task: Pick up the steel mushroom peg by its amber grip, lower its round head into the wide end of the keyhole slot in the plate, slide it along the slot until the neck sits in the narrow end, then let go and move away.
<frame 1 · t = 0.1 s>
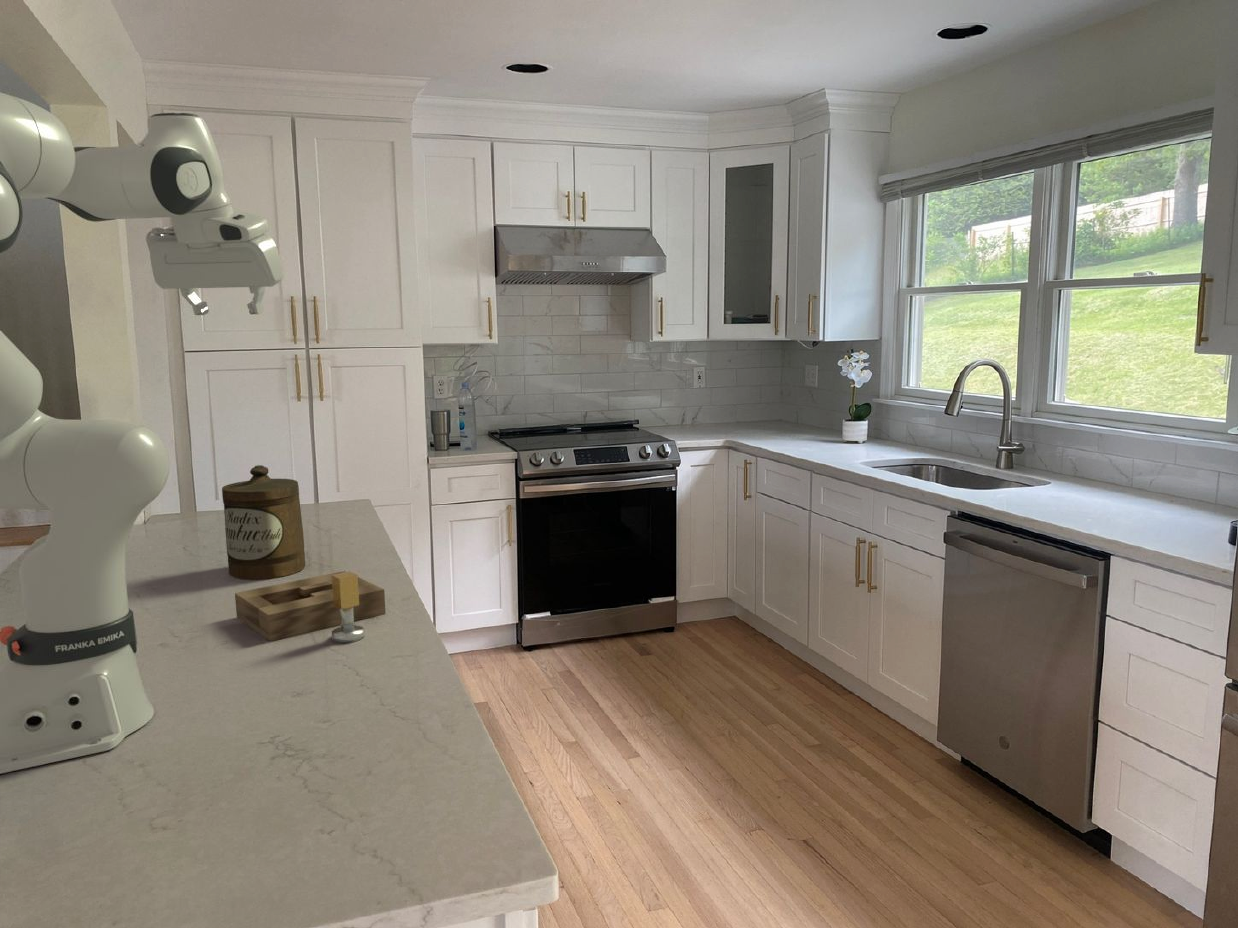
hand: (229, 313, 140), 52 cm above the counter, tool tilted 20°, fingers open, 8 cm apart
keyhole peg: (348, 637, 142), on the counter
wooden container: (267, 571, 183), on the counter
keyhole plate: (311, 615, 154), on the counter
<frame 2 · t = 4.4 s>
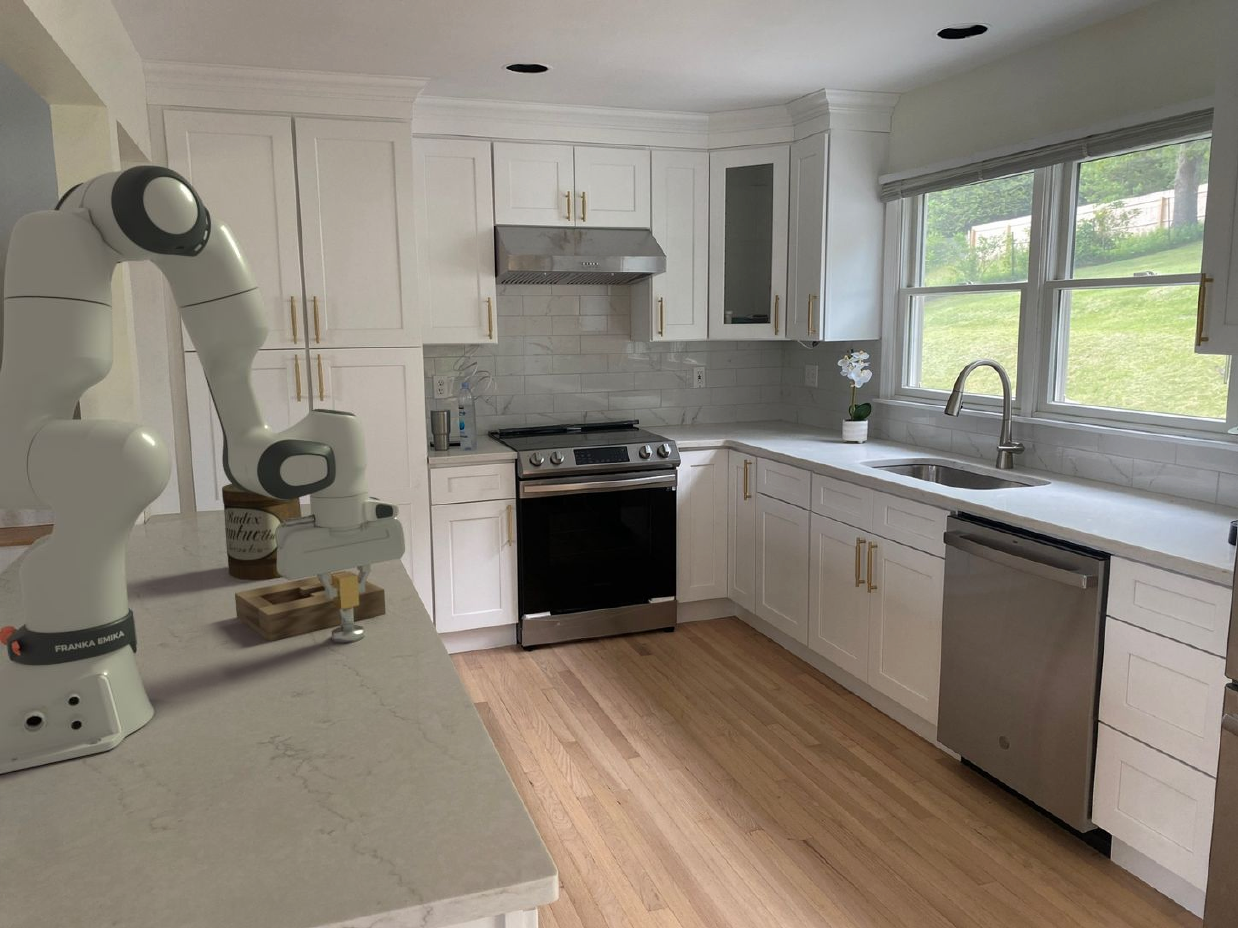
hand: (345, 595, 141), 7 cm above the counter, tool pointing down, fingers closed on keyhole peg, 3 cm apart
keyhole peg: (348, 637, 142), on the counter, touching gripper
everything else where it was.
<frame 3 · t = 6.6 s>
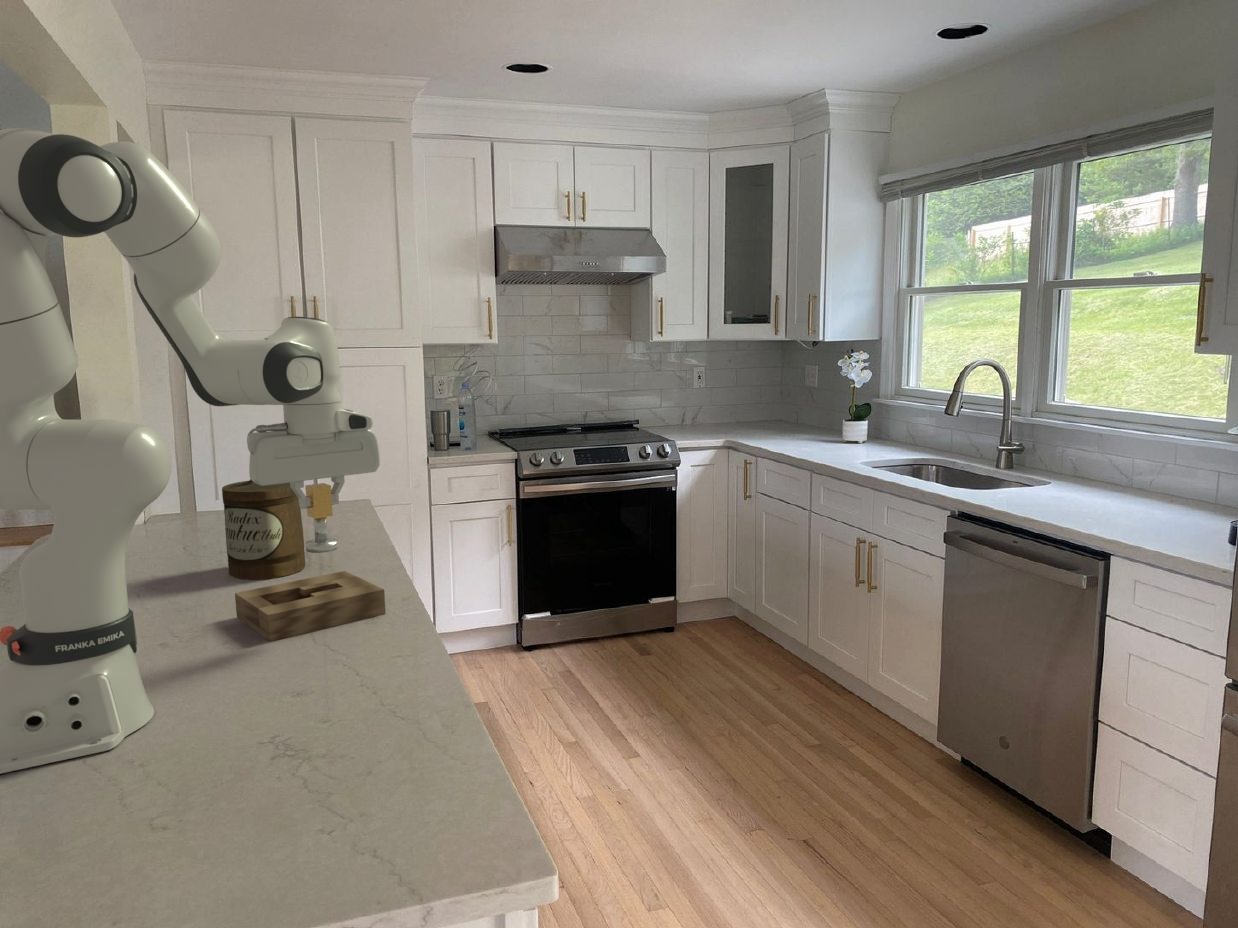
hand: (319, 506, 142), 21 cm above the counter, tool pointing down, fingers closed on keyhole peg, 3 cm apart
keyhole peg: (322, 548, 143), point 14 cm above the counter, touching gripper
everything else where it was.
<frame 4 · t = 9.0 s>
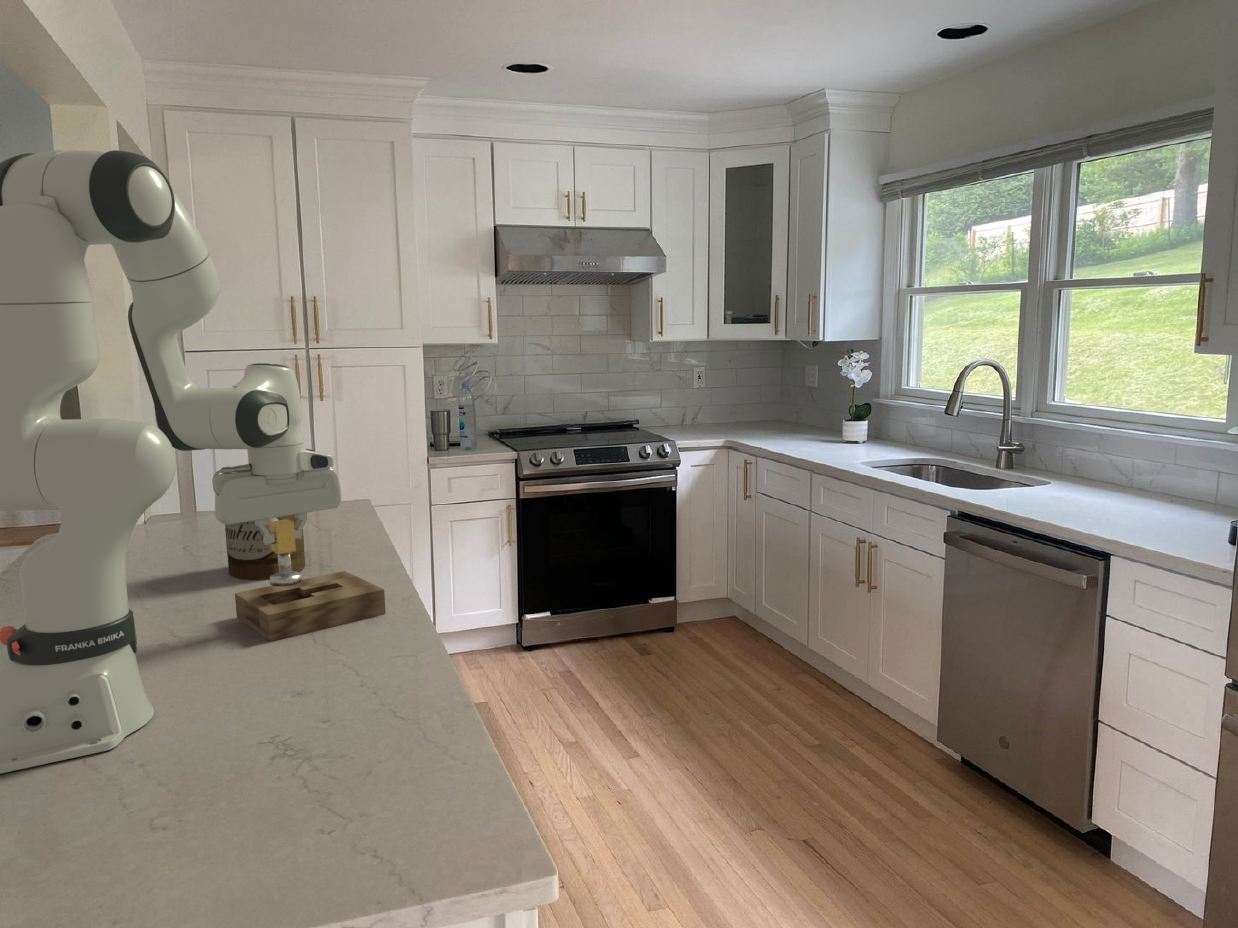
hand: (283, 541, 149), 14 cm above the counter, tool pointing down, fingers closed on keyhole peg, 3 cm apart
keyhole peg: (286, 582, 150), point 7 cm above the counter, touching gripper
everything else where it was.
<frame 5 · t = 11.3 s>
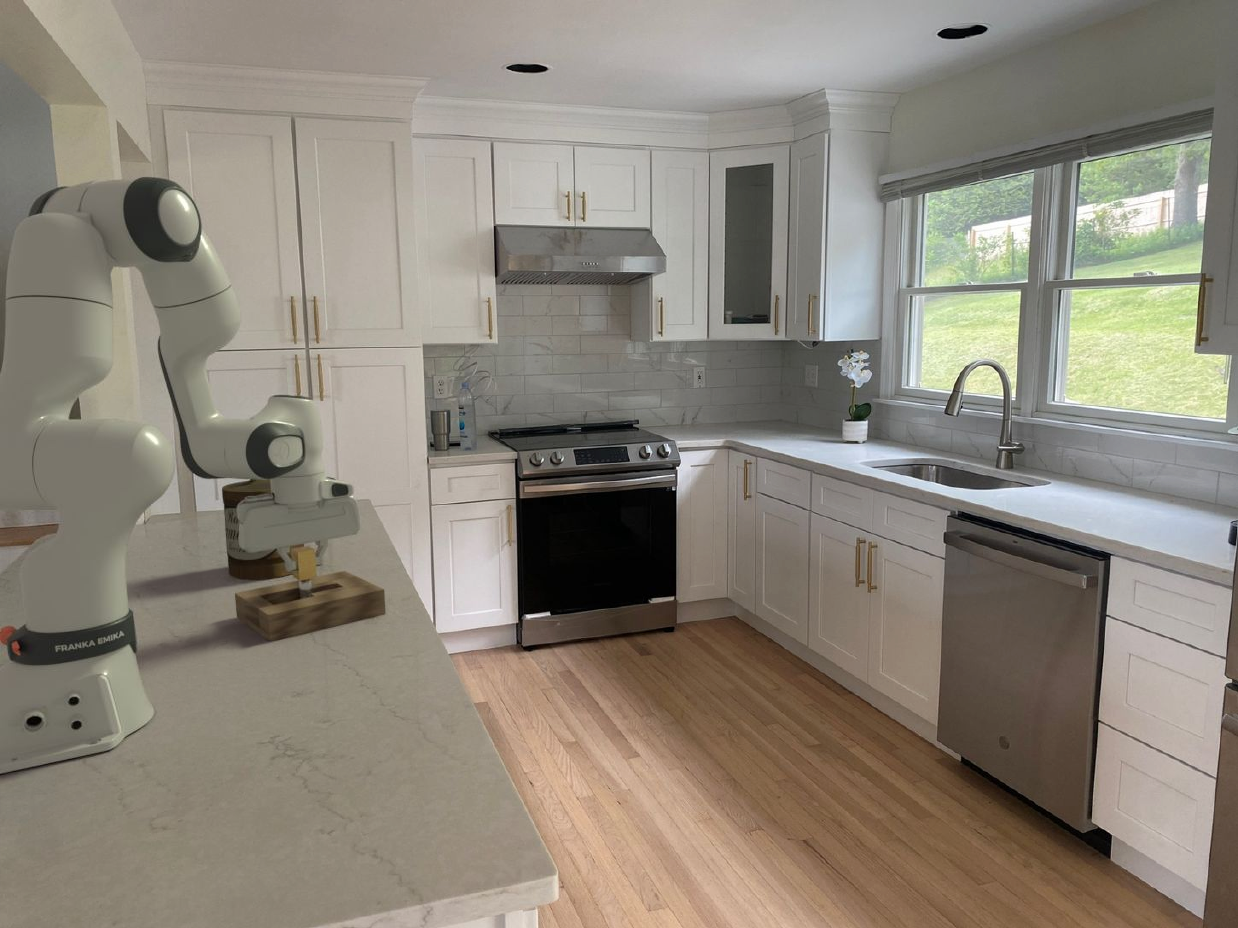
hand: (304, 568, 152), 9 cm above the counter, tool pointing down, fingers closed on keyhole peg, 3 cm apart
keyhole peg: (307, 607, 153), point 1 cm above the counter, touching gripper
everything else where it was.
when the fingers open (8 cm above the counter, at t = 13.4 s): keyhole peg stays where it is, resting on keyhole plate.
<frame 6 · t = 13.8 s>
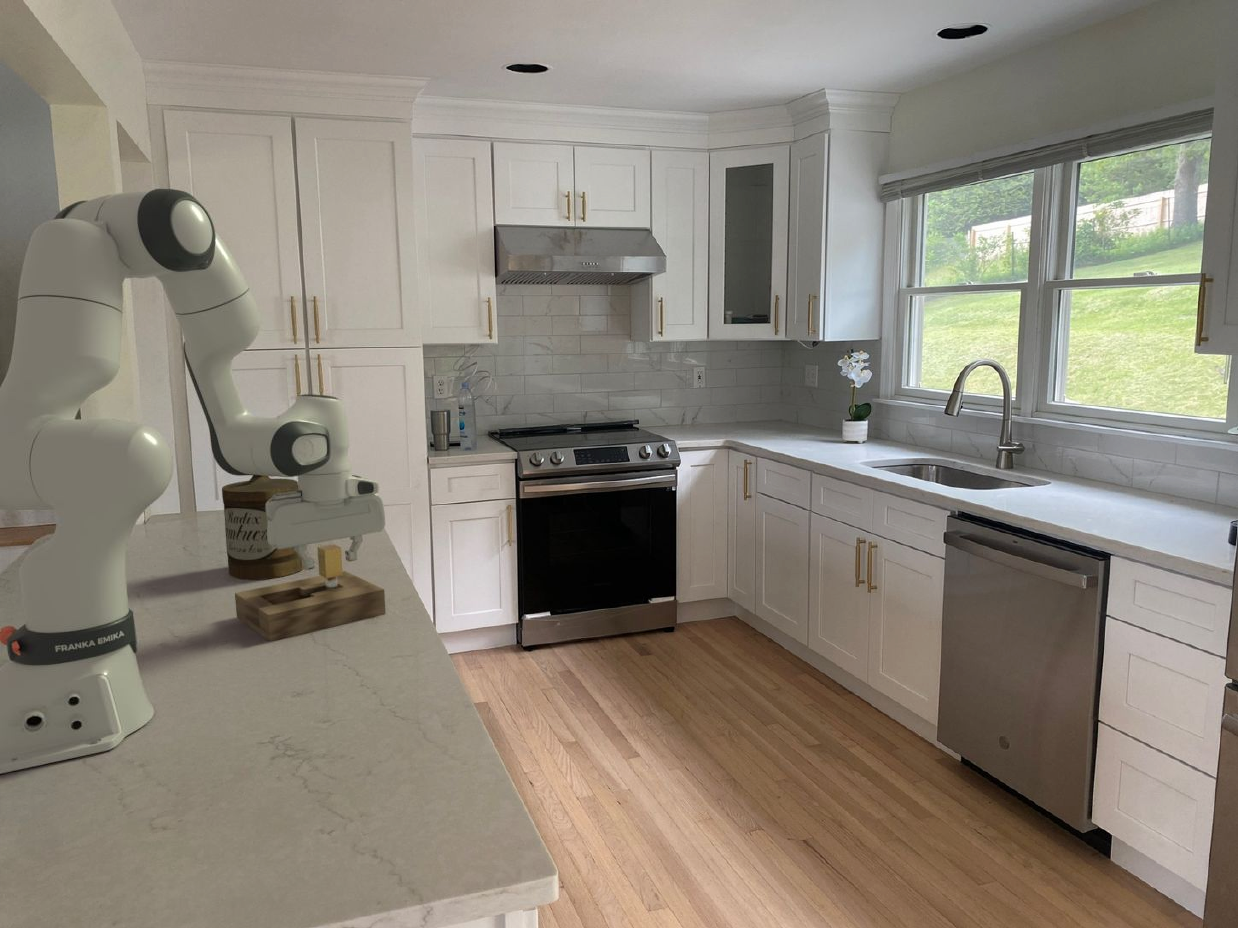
hand: (330, 564, 155), 8 cm above the counter, tool pointing down, fingers open, 6 cm apart
keyhole peg: (332, 604, 156), point 1 cm above the counter, touching keyhole plate
everything else where it was.
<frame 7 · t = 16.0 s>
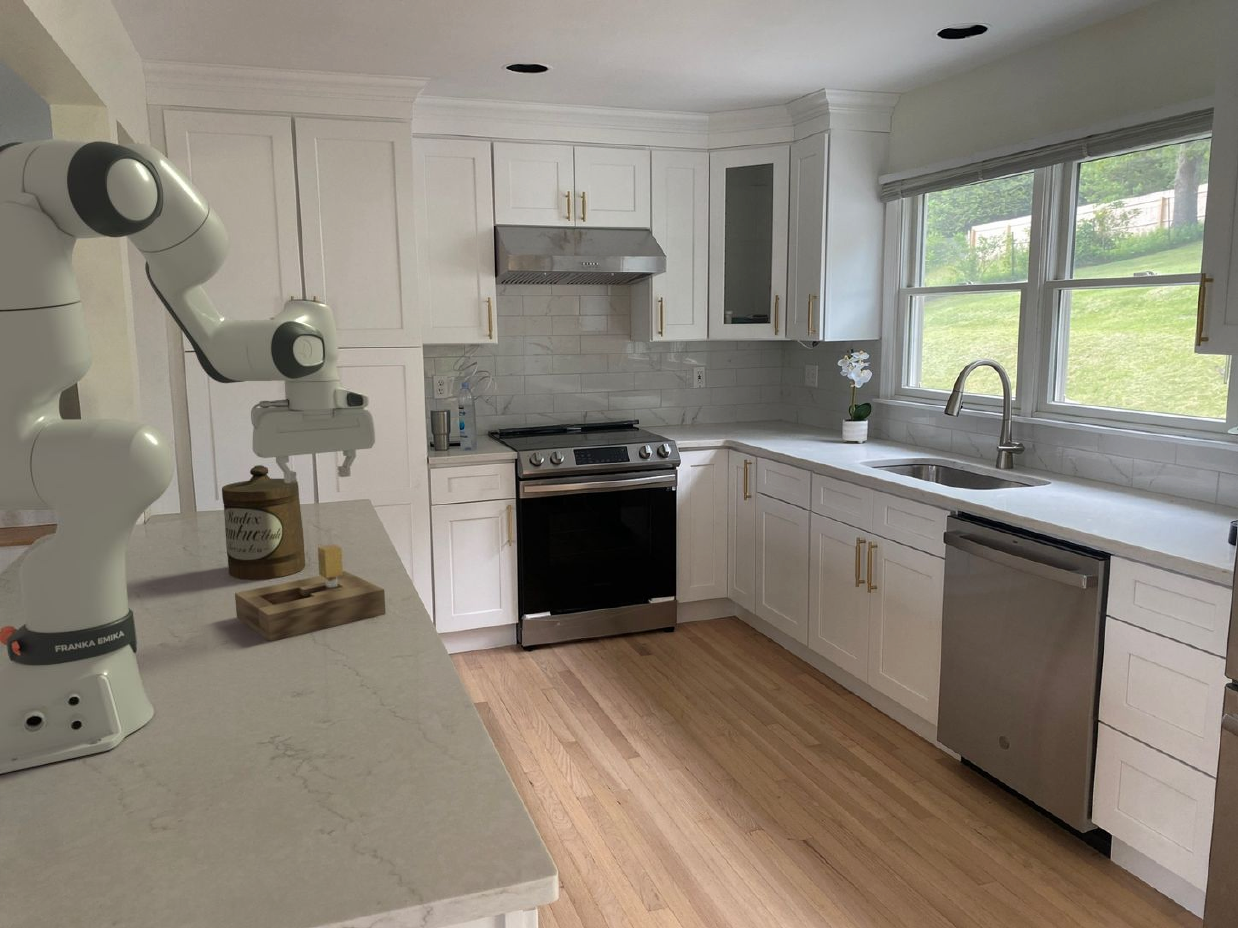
hand: (318, 479, 150), 24 cm above the counter, tool pointing down, fingers open, 8 cm apart
nothing on the counter moved.
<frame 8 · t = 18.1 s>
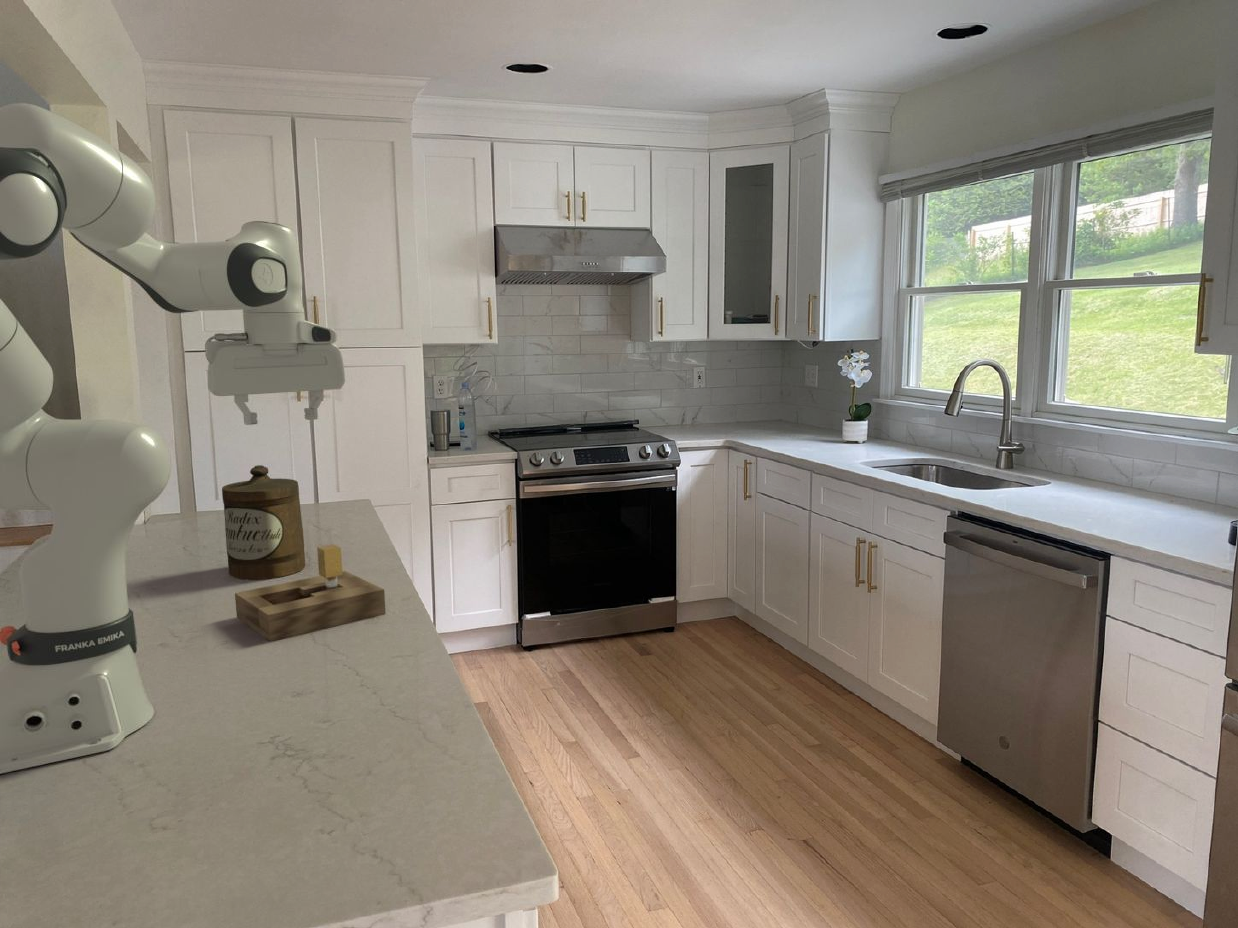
hand: (281, 421, 138), 35 cm above the counter, tool pointing down, fingers open, 8 cm apart
nothing on the counter moved.
at the end: keyhole peg 0.1 cm from the target spot on the keyhole plate, point 1.0 cm above the keyhole plate's base; keyhole peg tilted 0°; the gripper is holding nothing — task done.
